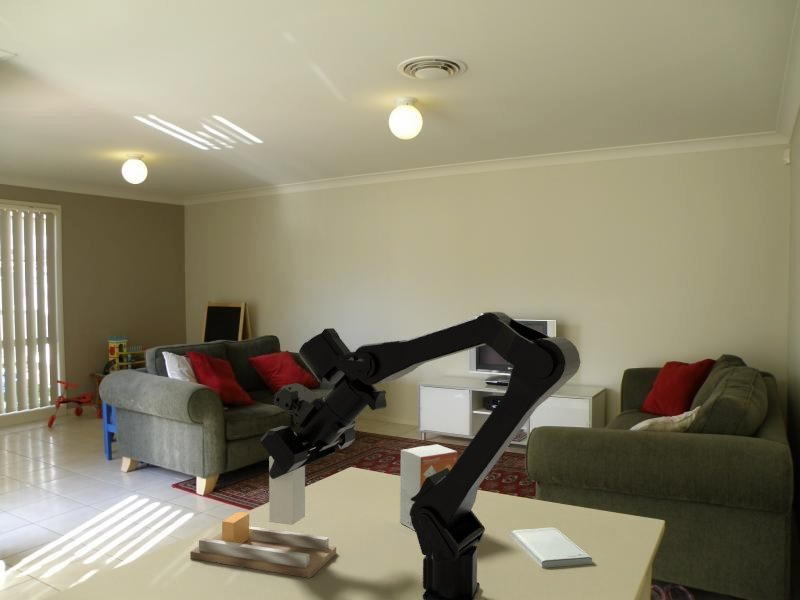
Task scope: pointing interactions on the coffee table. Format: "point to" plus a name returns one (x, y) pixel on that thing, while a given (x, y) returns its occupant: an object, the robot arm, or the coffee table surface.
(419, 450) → the small box
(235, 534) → the block
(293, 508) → the block
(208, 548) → the rail board
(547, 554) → the hard drive
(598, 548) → the coffee table surface
